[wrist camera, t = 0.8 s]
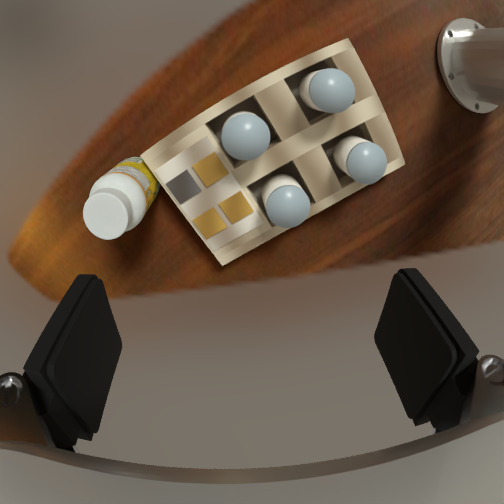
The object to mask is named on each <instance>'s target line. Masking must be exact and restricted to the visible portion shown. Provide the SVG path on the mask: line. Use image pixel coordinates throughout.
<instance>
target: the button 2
mask: <svg viewBox="0 0 504 504" xmlns="http://www.w3.org/2000/svg"><path fill="white" fill-rule="evenodd" d="M262 199H263V202H264V205H265V209H266V212H267V215H268V217H269V219H270V220H271V221H272V222H273V223H274V224H275V225H277V226H279V227H282V228H292V227H295V226H298V225H299V224H301V223H302V222H303V221H304V220H305V219H306V218H307V216H308V214H309V212H310V200H309V198H308V196H307V194H306V193H305V192H304V190H303V189H302V188H301V186H300V185H299V183H298V182H297V181H296V180H295V179H294V178H293V177H291V176H289V175H286V174H278V175H274V176H272V177H270V178H269V179H268V180H267V181H266V182H265V184H264V185H263V188H262Z"/></svg>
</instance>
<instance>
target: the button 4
mask: <svg viewBox="0 0 504 504" xmlns="http://www.w3.org/2000/svg"><path fill="white" fill-rule="evenodd" d="M333 157H334V161H335V163H336V165H337V166H338V167H339V168H340V169H341V170H342V171H343V172H345V173H346V174H347V175H349V176H350V177H351V178H353V179H354V180H355V181H357V182H358V183H361V184H365V185H368V184H373V183H375V182H377V181H378V180H379V179H380V178H381V177H382V176H383V175H384V173H385V171H386V167H387V158H386V154H385V152H384V151H383V149H382V148H381V147H380V146H378V145H377V144H374V143H372V142H370V141H367V140H365V139H362V138H360V137H357V136H353V135H350V136H346V137H343V138H342V139H340V140H339V141H338V142H337V144H336V146H335V148H334V152H333Z"/></svg>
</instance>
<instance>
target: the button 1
mask: <svg viewBox="0 0 504 504" xmlns="http://www.w3.org/2000/svg"><path fill="white" fill-rule="evenodd" d="M221 139H222V144H223V147H224V149H225V150H226V152H227V153H228V154H229V155H231V156H232V157H234V158H236V159H239V160H245V161H247V160H253V159H256V158H258V157H259V156H261V155H262V154H263V153H264V152H265V151H266V149H267V148H268V146H269V143H270V131H269V128H268V126H267V124H266V123H265V122H264V121H263V120H262V119H261V118H260V117H258V116H257V115H255V114H254V113H251V112H248V111H240V112H236V113H234V114H232V115H231V116H229V117H228V118H227V120H226V121H225V123H224V125H223V130H222V136H221Z"/></svg>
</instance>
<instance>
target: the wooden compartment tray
mask: <svg viewBox="0 0 504 504" xmlns="http://www.w3.org/2000/svg"><path fill="white" fill-rule="evenodd" d="M329 68H334V69H338V70H341V71H343V72H344V73H346V74H347V75H348V76H349V77H350V78H351V80H352V82H353V84H354V87H355V98H354V101H353V103H352V104H351V106H350V107H349V108H348V109H346V110H345V111H343V112H340V113H328V112H324V111H319V110H315V109H312V108H310V107H308V106H307V105H306V104H305V103H304V102H303V101H302V99H301V97H300V94H299V86H300V82H301V80H302V79H303V77H304V76H306V75H307V74H309V73H311V72H314V71H319V70H323V69H329ZM240 111H248V112H251V113H254V114H255V115H257V116H258V117H260V118H261V119H262V120H263V121H264V122H265V123H266V124H267V126H268V128H269V131H270V143H269V146H268V148H267V149H266V151H265V152H264V153H263V154H262V155H261V156H259V157H258V158H256V159H253V160H247V161H245V160H239V159H236V158H234V157H232V156H231V155H229V154H228V153H227V152H226V150H225V149H224V147H223V144H222V139H221V136H222V130H223V125H224V123H225V121H226V120H227V118H228V117H229V116H231V115H232V114H234V113H236V112H240ZM350 135H353V136H357V137H360V138H362V139H365V140H367V141H370V142H372V143H374V144H377V145H378V146H380V147H381V148H382V149H383V151H384V152H385V154H386V158H387V167H386V171H385V173H384V175H383V176H385V175H387V174H389V173H390V172H392V171H394V170H396V169H398V168H399V167H401V166H403V165H405V162H404V159H403V156H402V153H401V151H400V148H399V145H398V143H397V140H396V137H395V135H394V132H393V130H392V127H391V125H390V123H389V120H388V118H387V115H386V113H385V111H384V108H383V106H382V104H381V102H380V100H379V97H378V95H377V93H376V91H375V89H374V87H373V85H372V82H371V80H370V78H369V76H368V74H367V72H366V70H365V68H364V67H363V65H362V63H361V61H360V59H359V57H358V55H357V53H356V51H355V50H354V48H353V46H352V44H351V43H350V41H349V39H348V38H347V39H344V40H342V41H339V42H337V43H334V44H332V45H329V46H327V47H325V48H322V49H320V50H318V51H316V52H313V53H311V54H309V55H307V56H305V57H302V58H300V59H298V60H296V61H294V62H292V63H290V64H288V65H286V66H284V67H282V68H280V69H278V70H276V71H274V72H272V73H270V74H268V75H266V76H264V77H262V78H260V79H259V80H257V81H255V82H253V83H251V84H249V85H248V86H246V87H244V88H242V89H240V90H239V91H237V92H235V93H234V94H232V95H230V96H228V97H227V98H225V99H223V100H222V101H220V102H218V103H217V104H215V105H213V106H212V107H210V108H209V109H207V110H205V111H204V112H202V113H201V114H199V115H198V116H196V117H194V118H193V119H191V120H190V121H188V122H187V123H185V124H184V125H182V126H181V127H179V128H178V129H176V130H175V131H173V132H172V133H171V134H169V135H168V136H166V137H165V138H163V139H162V140H161V141H159V142H158V143H156V144H155V145H154V146H152V147H151V148H150V149H148V150H147V151H146V152H144V153H143V154H142V155H140V156H141V157H142V159H143V160H144V162H145V163H146V164H147V166H148V167H149V169H150V170H151V171H152V173H153V174H154V175H155V177H156V178H157V180H158V181H159V182H160V184H161V185H162V186H163V188H164V189H165V190H166V192H167V193H168V194H169V196H170V197H171V199H172V200H173V201H174V203H175V204H176V205H177V207H178V208H179V209H180V211H181V212H182V213H183V215H184V216H185V217H186V219H187V220H188V221H189V223H190V224H191V225H192V227H193V228H194V229H195V231H196V232H197V233H198V235H199V236H200V237H201V239H202V240H203V241H204V243H205V244H206V245H207V246H208V248H209V249H210V250H211V252H212V253H213V254H214V256H215V257H216V258H217V260H218V261H219V262H220V263H221V265H222V266H223V265H225V264H227V263H229V262H230V261H232V260H234V259H236V258H238V257H239V256H241V255H243V254H245V253H246V252H248V251H250V250H252V249H254V248H255V247H257V246H259V245H261V244H263V243H264V242H266V241H268V240H270V239H272V238H273V237H275V236H277V235H279V234H281V233H282V232H284V231H286V230H288V229H290V228H282V227H279V226H277V225H275V224H274V223H273V222H272V221H271V220H270V219H269V217H268V215H267V212H266V209H265V205H264V202H263V199H262V188H263V185H264V184H265V182H266V181H267V180H268V179H269V178H270V177H272V176H274V175H278V174H286V175H289V176H291V177H293V178H294V179H295V180H296V181H297V182H298V183H299V185H300V186H301V188H302V189H303V190H304V192H305V193H306V194H307V196H308V198H309V200H310V212H309V214H308V216H307V218H306V219H308V218H309V217H311V216H313V215H315V214H317V213H318V212H320V211H322V210H324V209H326V208H327V207H329V206H331V205H333V204H335V203H336V202H338V201H340V200H342V199H344V198H345V197H347V196H349V195H351V194H353V193H354V192H356V191H358V190H360V189H362V188H363V187H365V186H367V185H365V184H361V183H358V182H357V181H355V180H354V179H353V178H351V177H350V176H349V175H347V174H346V173H345V172H343V171H342V170H341V169H340V168H339V167H338V166H337V165H336V163H335V161H334V157H333V152H334V148H335V146H336V144H337V142H338V141H339V140H340V139H342V138H343V137H346V136H350ZM383 176H382V177H383ZM368 185H369V184H368ZM306 219H305V220H306Z"/></svg>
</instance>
